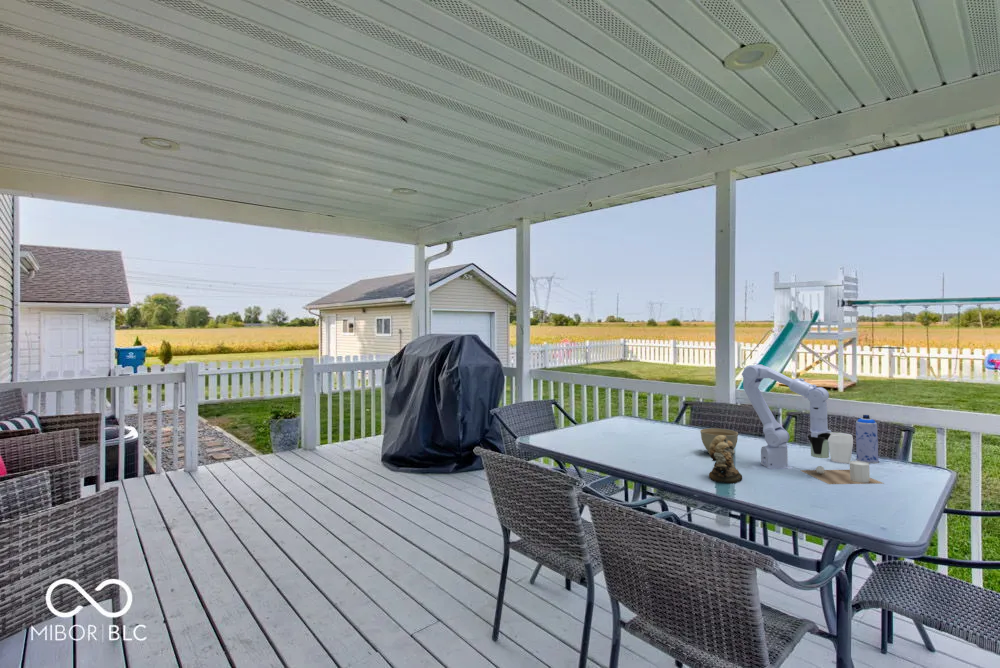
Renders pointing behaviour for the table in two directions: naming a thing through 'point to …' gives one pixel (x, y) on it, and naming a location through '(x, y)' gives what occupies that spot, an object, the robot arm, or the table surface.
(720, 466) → the owl figurine
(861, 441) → the aerosol can
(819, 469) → the white marble
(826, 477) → the walnut board
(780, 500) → the table surface
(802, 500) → the table surface
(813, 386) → the robot arm
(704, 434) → the planter bowl
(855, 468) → the white acorn nut
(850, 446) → the cup
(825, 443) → the sage green acorn nut
